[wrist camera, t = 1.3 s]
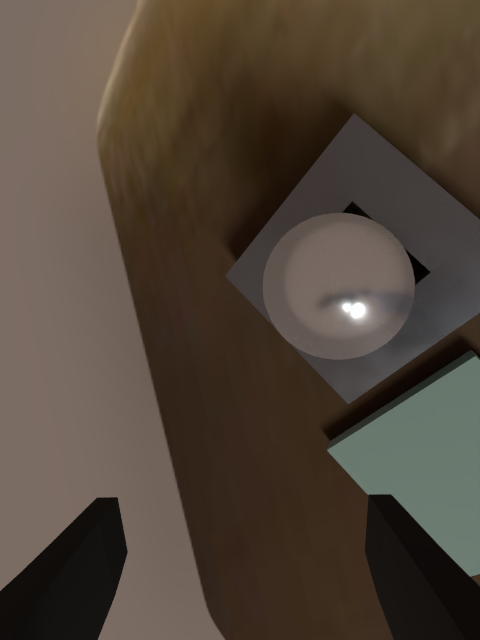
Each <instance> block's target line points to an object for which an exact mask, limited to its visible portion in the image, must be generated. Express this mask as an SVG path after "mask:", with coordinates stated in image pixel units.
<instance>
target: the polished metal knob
mask: <svg viewBox="0 0 480 640" xmlns="http://www.w3.org/2000/svg"><path fill="white" fill-rule="evenodd" d="M414 292H415V279H414V273H413V268H412V265H411V262H410V259H409V257H408V255H407V253H406V251H405V249H404V247H403V246H402V245H401V243H400V242H399V240H398V239H397V238H396V237H395V236H394V235H393V234H392V233H391V232H390V231H388V230H387V229H386V228H385V227H383V226H382V225H380V224H378V223H377V222H375V221H373V220H371V219H368V218H366V217H363V216H359V215H355V214H349V213H329V214H323V215H319V216H316V217H312V218H310V219H308V220H305V221H303V222H301V223H300V224H298V225H297V226H295V227H293V228H292V229H291V230H290V231H288V232H287V233H286V234H285V235H284V236H283V237H282V238H281V239H280V240H279V242H278V243H277V244H276V246H275V247H274V249H273V251H272V252H271V254H270V256H269V259H268V261H267V263H266V267H265V271H264V276H263V298H264V303H265V307H266V310H267V313H268V315H269V317H270V319H271V321H272V323H273V324H274V326H275V327H276V329H277V330H278V332H279V333H280V334H281V335H282V336H283V337H284V338H285V339H286V340H287V341H288V342H289V343H291V344H292V345H293V346H295V347H296V348H298V349H300V350H301V351H303V352H305V353H308V354H310V355H313V356H316V357H320V358H325V359H333V360H343V359H352V358H357V357H360V356H363V355H366V354H369V353H371V352H373V351H375V350H377V349H379V348H380V347H382V346H383V345H385V344H386V343H387V342H388V341H390V340H391V339H392V338H393V337H394V336H395V335H396V334H397V332H398V331H399V330H400V329H401V327H402V326H403V324H404V323H405V321H406V319H407V317H408V315H409V313H410V310H411V307H412V304H413V299H414Z"/></svg>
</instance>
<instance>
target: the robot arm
mask: <svg viewBox="0 0 480 640" xmlns="http://www.w3.org/2000/svg"><path fill="white" fill-rule="evenodd" d="M365 553H366V557H367V560H368V564H369V568H370V571H371V575H372V578H373V582H374V585H375V589H376V592H377V596H378V599H379V601H380V604H381V607H382V609H383V612H384V615H385V617H386V620H387V623H388V625H389V628H390V630H391V633H392V636H393V638H394V640H480V586H479V585H478V584H477V583H476V582H475V581H474V580H473V579H472V578H471V577H470V576H469V575H468V574H467V573H466V572H465V571H464V570H463V569H462V568H461V567H460V566H459V565H458V564H457V563H456V562H455V561H454V560H453V559H452V558H451V557H450V556H449V555H448V554H447V553H446V552H445V551H444V550H443V549H442V548H441V547H440V546H439V545H438V544H437V543H436V542H435V540H434V539H433V538H432V537H431V536H430V535H429V534H428V533H427V532H426V531H425V530H424V529H423V528H422V527H421V526H420V525H419V523H418V522H417V521H416V520H415V519H414V518H413V517H412V516H411V515H410V514H409V513H408V512H407V510H406V509H405V508H404V507H403V506H402V505H401V504H400V503H399V502H398V501H397V500H396V499H395V498H394V497H393V496H392V495H391V494H369V499H368V514H367V529H366V544H365ZM126 556H127V546H126V541H125V535H124V530H123V525H122V519H121V514H120V508H119V503H118V498H117V497H116V498H115V497H112V498H96V499H95V500H94V501H93V502H92V503H91V504H90V505H89V506H88V507H87V508H86V509H85V510H84V511H83V512H82V513H81V514H80V515H79V516H78V517H77V518H76V519H75V520H74V521H73V522H72V523H71V524H70V525H69V526H68V527H67V528H66V529H65V530H64V531H63V532H62V533H61V534H60V535H59V536H58V537H57V538H56V539H55V540H54V541H53V542H52V543H51V544H50V545H49V546H48V547H47V548H46V549H45V550H44V551H43V552H42V553H40V554H39V555H38V556H37V557H36V558H35V559H34V560H33V561H32V562H31V563H30V564H29V565H28V566H27V567H26V568H25V569H24V570H23V571H22V572H21V573H20V574H19V575H17V576H16V577H15V578H14V579H13V580H12V581H11V582H10V583H9V584H8V585H6V586H5V587H4V588H3V589H2V590H1V591H0V640H98V637H99V635H100V632H101V630H102V627H103V625H104V622H105V619H106V617H107V615H108V612H109V609H110V607H111V604H112V601H113V599H114V597H115V594H116V590H117V587H118V584H119V580H120V577H121V574H122V570H123V566H124V563H125V559H126Z"/></svg>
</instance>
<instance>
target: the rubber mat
mask: <svg viewBox="0 0 480 640" xmlns="http://www.w3.org/2000/svg"><path fill="white" fill-rule="evenodd" d="M327 451H328V452H329V453H330V454H331V455H332V456H333V457H334V459H335V460H336V461H337V462H338V463H339V464H340V465H341V466H342V467H343V468H344V469H345V470H346V472H347V473H348V474H349V475H350V476H351V477H352V478H353V479H354V480H355V481H356V482H357V483H358V485H359V486H360V487H361V488H362V489H363V490H364V491H365V492H366V493H367V494H368V495H369V494H391V495H392V496H393V497H394V498H395V499H396V500H397V501H398V502H399V503H400V504H401V505H402V506H403V507H404V508H405V509H406V510H407V512H408V513H409V514H410V515H411V516H412V517H413V518H414V519H415V520H416V521H417V522H418V523H419V525H420V526H421V527H422V528H423V529H424V530H425V531H426V532H427V533H428V534H429V535H430V536H431V537H432V538H433V539H434V540H435V542H436V543H437V544H438V545H439V546H440V547H441V548H442V549H443V550H444V551H445V552H446V553H447V554H448V555H449V556H450V557H451V558H452V559H453V560H454V561H455V562H456V563H457V564H458V565H459V566H460V567H461V568H462V569H463V570H464V571H465V572H466V573H467V574H468V575H469V576H474V575H477V574H480V357H478V356H477V355H476V354H475V353H474V352H473V351H472V350H470V351H468V352H467V353H465V354H464V355H462V356H461V357H459V358H457V359H456V360H454V361H453V362H451V363H450V364H448V365H447V366H445V367H444V368H442V369H440V370H439V371H437V372H436V373H434V374H433V375H431V376H430V377H428V378H427V379H425V380H424V381H422V382H420V383H419V384H417V385H416V386H414V387H413V388H411V389H410V390H408V391H407V392H405V393H404V394H402V395H400V396H399V397H397V398H396V399H394V400H393V401H391V402H390V403H388V404H387V405H385V406H383V407H382V408H380V409H379V410H377V411H376V412H374V413H373V414H371V415H370V416H368V417H367V418H365V419H363V420H362V421H360V422H359V423H357V424H356V425H354V426H353V427H351V428H350V429H348V430H346V431H345V432H343V433H342V434H340V435H339V436H337V437H336V438H334V439H333V440H331V441H330V442H329V445H328V448H327Z"/></svg>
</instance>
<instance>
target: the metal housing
mask: <svg viewBox="0 0 480 640" xmlns="http://www.w3.org/2000/svg"><path fill="white" fill-rule="evenodd" d="M357 206H359V207H360V208H361V209H362V210H363V211H364V212H365V213H366V214H367V215H368V216H370V217H371V218H372V219H373V220H374V221H375V222H377V223H378V224H380V225H382V226H383V227H385V228H386V229H387V230H388V231H390V232H391V233H392V234H393V235H394V236H395V237H396V238H397V239H398V240H399V242H400V243H401V245H402V246H403V247H404V248H405V249H406V250H407V251H408V252H409V253H410V254H411V255H413V256H414V257H415V258H416V259H417V260H418V261H419V262H420V263H421V264H422V265H424V266H425V267H426V268H425V269H424V270H423V271H422V272H421V273H419V274H418V275H417V276H416V277H415V278H414V279H415V292H414V299H413V304H412V307H411V310H410V313H409V315H408V317H407V319H406V321H405V323H404V324H403V326H402V327H401V329H400V330H399V331H398V332H397V334H396V335H395V336H394V337H393V338H392V339H391V340H390V341H388V342H387V343H386V344H385V345H383V346H382V347H380V348H379V349H377V350H375V351H373V352H371V353H369V354H366V355H363V356H360V357H357V358H352V359H343V360H333V359H325V358H320V357H316V356H313V355H310V354H308V353H305V352H303V351H301V350H300V349H298V348H296V347H295V346H293V345H292V344H291V343H290V344H291V345H292V346H293V347H294V348H295V349H296V350H297V351H298V352H299V353H300V354H301V356H302V357H303V358H304V359H305V360H306V361H307V362H308V363H309V364H310V365H311V366H312V367H313V368H314V369H315V370H316V371H317V372H318V373H319V374H320V375H321V376H322V377H323V378H324V379H325V381H326V382H327V383H328V384H329V385H330V386H331V387H332V388H333V389H334V390H335V391H336V392H337V393H338V394H339V395H340V396H341V397H342V398H343V399H344V400H345V401H346V402H347V403H348V404H349V403H351V402H352V401H354V400H355V399H357V398H358V397H359V396H361V395H362V394H364V393H365V392H367V391H368V390H369V389H371V388H372V387H374V386H375V385H377V384H378V383H379V382H381V381H382V380H384V379H385V378H387V377H388V376H389V375H391V374H392V373H394V372H395V371H397V370H398V369H400V368H401V367H402V366H404V365H405V364H407V363H408V362H410V361H411V360H412V359H414V358H415V357H417V356H418V355H420V354H421V353H422V352H424V351H425V350H427V349H428V348H430V347H431V346H432V345H434V344H435V343H437V342H438V341H440V340H441V339H442V338H444V337H445V336H447V335H448V334H450V333H451V332H452V331H454V330H455V329H457V328H458V327H460V326H461V325H462V324H464V323H465V322H467V321H468V320H470V319H471V318H473V317H474V316H475V315H477V314H478V313H480V219H479V218H477V217H476V216H475V215H474V214H473V213H471V212H470V211H469V210H468V209H467V208H466V207H464V206H463V205H462V204H461V203H460V202H459V201H457V200H456V199H455V198H454V197H453V196H451V195H450V194H449V193H448V192H447V191H446V190H444V189H443V188H442V187H441V186H440V185H439V184H437V183H436V182H435V181H434V180H433V179H431V178H430V177H429V176H428V175H427V174H426V173H424V172H423V171H422V170H421V169H420V168H419V167H417V166H416V165H415V164H414V163H413V162H411V161H410V160H409V159H408V158H407V157H406V156H404V155H403V154H402V153H401V152H400V151H399V150H397V149H396V148H395V147H394V146H393V145H391V144H390V143H389V142H388V141H387V140H386V139H384V138H383V137H382V136H381V135H380V134H378V133H377V132H376V131H375V130H374V129H373V128H371V127H370V126H369V125H368V124H367V123H366V122H364V121H363V120H362V119H361V118H360V117H358V116H357V115H356V114H355V113H354V114H353V115H352V116H351V117H350V119H349V120H348V121H347V123H346V124H345V125H344V126H343V128H342V129H341V130H340V131H339V133H338V134H337V135H336V136H335V138H334V139H333V140H332V142H331V143H330V144H329V145H328V147H327V148H326V149H325V150H324V152H323V153H322V154H321V155H320V157H319V158H318V159H317V160H316V162H315V163H314V164H313V166H312V167H311V168H310V169H309V171H308V172H307V173H306V174H305V176H304V177H303V178H302V179H301V181H300V182H299V183H298V184H297V186H296V187H295V188H294V190H293V191H292V192H291V193H290V195H289V196H288V197H287V198H286V200H285V201H284V202H283V203H282V205H281V206H280V207H279V209H278V210H277V211H276V212H275V214H274V215H273V216H272V217H271V219H270V220H269V221H268V222H267V224H266V225H265V226H264V227H263V229H262V230H261V231H260V233H259V234H258V235H257V236H256V238H255V239H254V240H253V241H252V243H251V244H250V245H249V246H248V248H247V249H246V250H245V251H244V253H243V254H242V255H241V257H240V258H239V259H238V260H237V262H236V263H235V264H234V265H233V267H232V268H231V269H230V270H229V272H228V273H227V274H226V277H227V278H228V280H229V281H230V282H231V283H232V284H233V285H234V286H235V287H236V288H237V289H238V290H239V291H240V292H241V293H242V294H243V295H244V296H245V297H246V298H247V299H248V300H249V301H250V302H251V303H252V305H253V306H254V307H255V308H256V309H257V310H258V311H259V312H260V313H261V314H262V315H263V316H264V317H265V318H266V319H267V320H268V321H269V322H270V323H271V324H272V325H273V326H274V324H273V323H272V321H271V319H270V317H269V315H268V313H267V310H266V307H265V303H264V298H263V276H264V271H265V267H266V263H267V261H268V259H269V256H270V254H271V252H272V251H273V249H274V247H275V246H276V244H277V243H278V242H279V240H280V239H281V238H282V237H283V236H284V235H285V234H286V233H287V232H288V231H290V230H291V229H292V228H293V227H295V226H297V225H298V224H300V223H301V222H303V221H305V220H308V219H310V218H312V217H316V216H319V215H323V214H329V213H349V214H351V213H352V212H353V210H354V209H355V208H356V207H357ZM274 327H275V326H274ZM275 328H276V327H275ZM276 330H277V329H276ZM277 331H278V330H277Z"/></svg>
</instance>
